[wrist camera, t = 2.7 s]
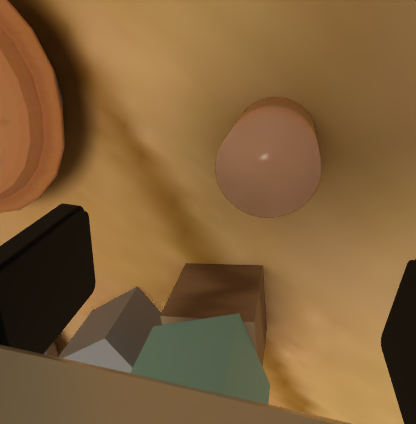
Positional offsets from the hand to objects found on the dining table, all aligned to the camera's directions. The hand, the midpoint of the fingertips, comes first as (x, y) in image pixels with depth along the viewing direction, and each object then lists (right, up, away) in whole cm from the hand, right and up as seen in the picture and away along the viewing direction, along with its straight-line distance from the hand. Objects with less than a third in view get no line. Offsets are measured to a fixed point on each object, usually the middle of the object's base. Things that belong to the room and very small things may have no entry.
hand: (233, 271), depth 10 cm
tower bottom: (+1, -5, +18) cm, 19 cm away
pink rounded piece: (+3, +6, +12) cm, 14 cm away
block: (-7, -8, +22) cm, 24 cm away
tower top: (-1, -8, +13) cm, 15 cm away
